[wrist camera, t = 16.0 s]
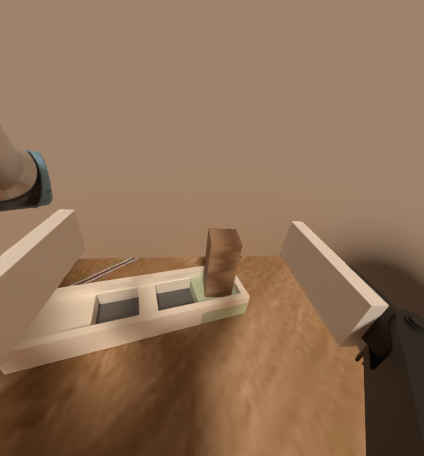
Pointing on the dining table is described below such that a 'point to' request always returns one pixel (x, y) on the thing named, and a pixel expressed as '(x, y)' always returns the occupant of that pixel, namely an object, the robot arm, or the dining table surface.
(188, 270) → the tray
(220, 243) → the walnut block
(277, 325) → the dining table surface
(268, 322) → the dining table surface
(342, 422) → the dining table surface
